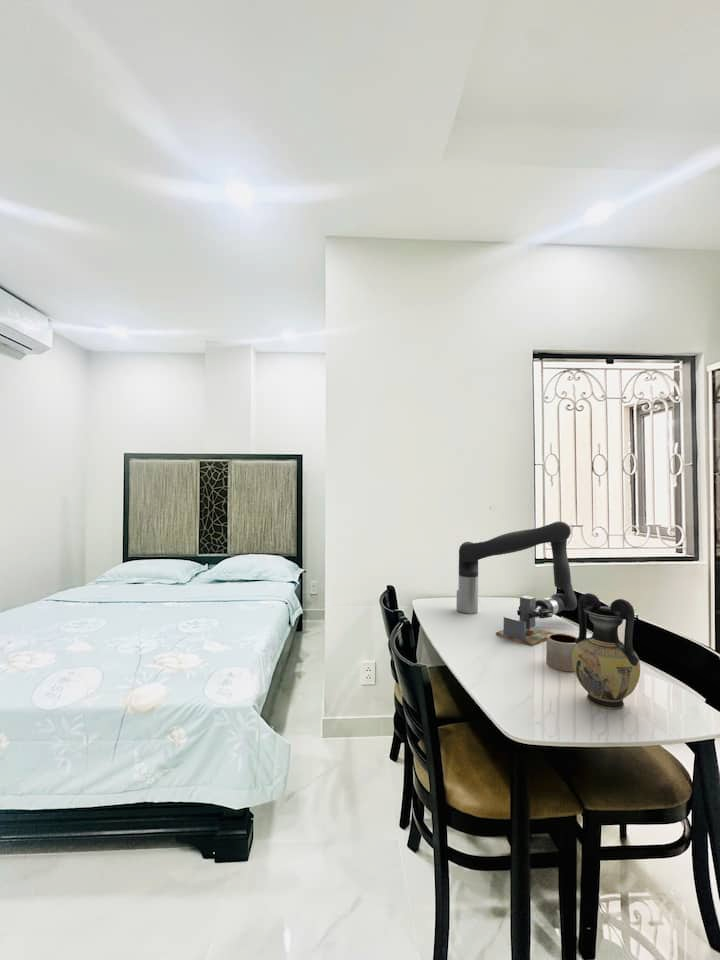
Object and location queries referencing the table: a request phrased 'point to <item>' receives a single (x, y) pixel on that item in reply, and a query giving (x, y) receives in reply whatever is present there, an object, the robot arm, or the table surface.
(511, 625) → the grey rectangular panel
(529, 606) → the block
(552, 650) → the planter
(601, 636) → the amphora
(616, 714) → the table surface
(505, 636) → the mottled brown square slab
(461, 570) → the robot arm
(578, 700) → the table surface
